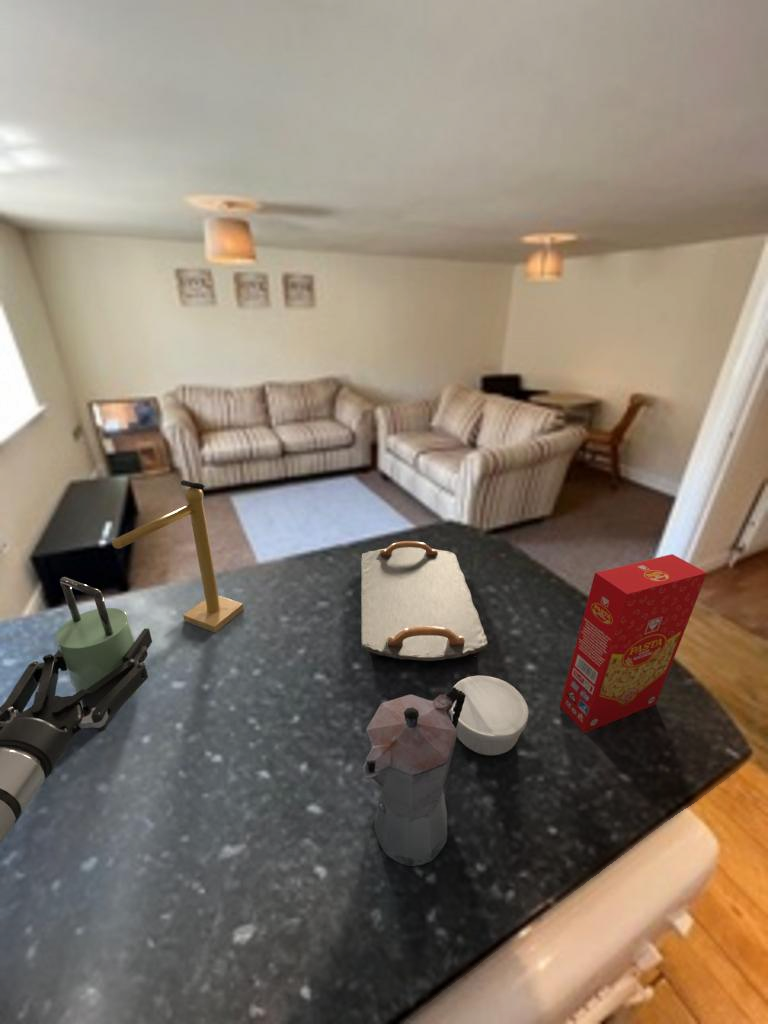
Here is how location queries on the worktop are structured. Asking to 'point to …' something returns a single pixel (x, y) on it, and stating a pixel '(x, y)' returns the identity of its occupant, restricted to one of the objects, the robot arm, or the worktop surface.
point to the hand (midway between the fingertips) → (117, 634)
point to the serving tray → (417, 605)
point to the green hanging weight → (92, 638)
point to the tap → (214, 607)
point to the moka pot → (412, 773)
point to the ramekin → (490, 715)
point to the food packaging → (629, 638)
